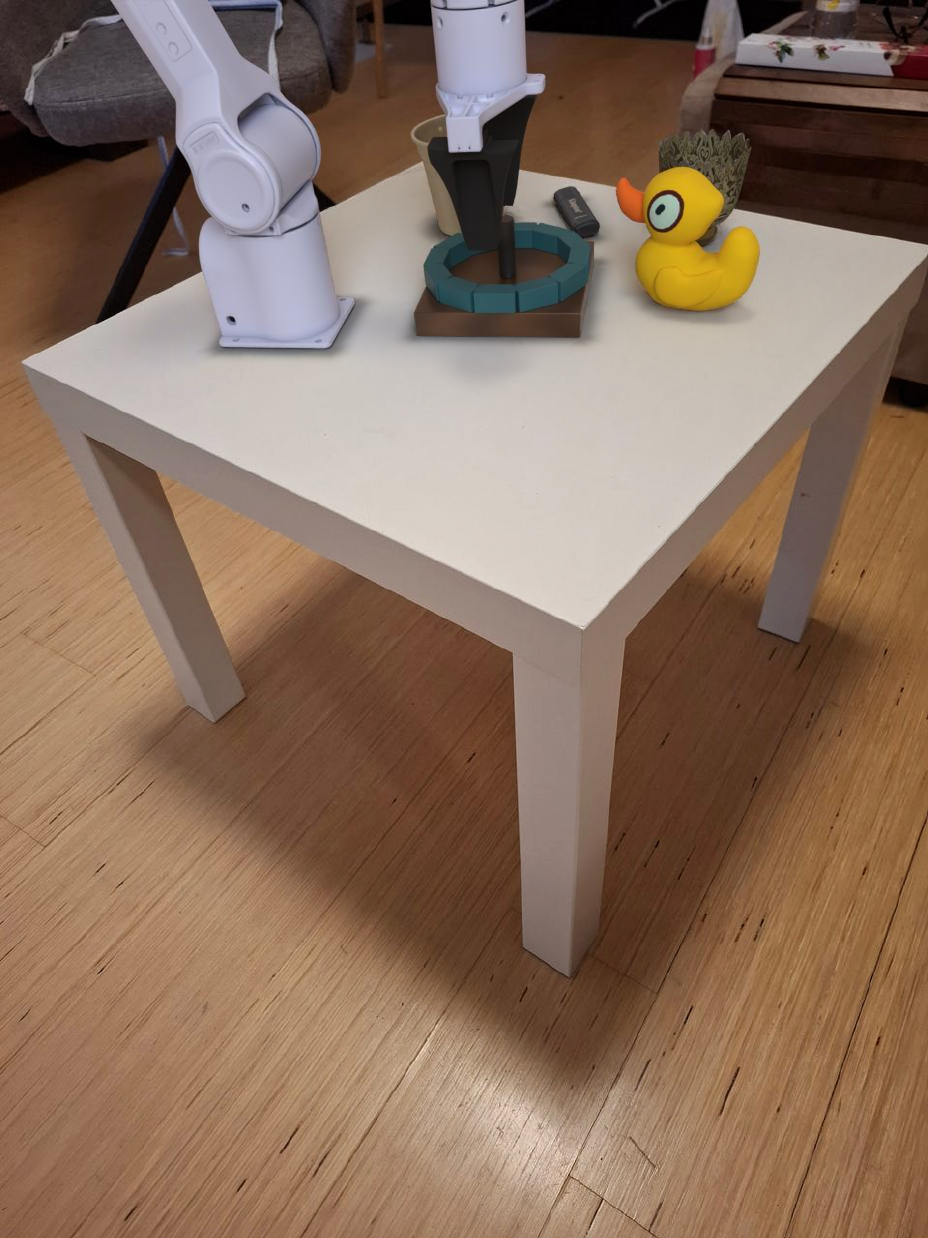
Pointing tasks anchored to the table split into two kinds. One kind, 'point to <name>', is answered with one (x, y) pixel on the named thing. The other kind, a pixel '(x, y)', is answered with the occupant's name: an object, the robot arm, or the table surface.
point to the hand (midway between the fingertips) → (491, 225)
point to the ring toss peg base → (505, 269)
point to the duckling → (687, 242)
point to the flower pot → (438, 190)
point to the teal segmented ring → (510, 295)
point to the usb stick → (576, 212)
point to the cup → (710, 166)
